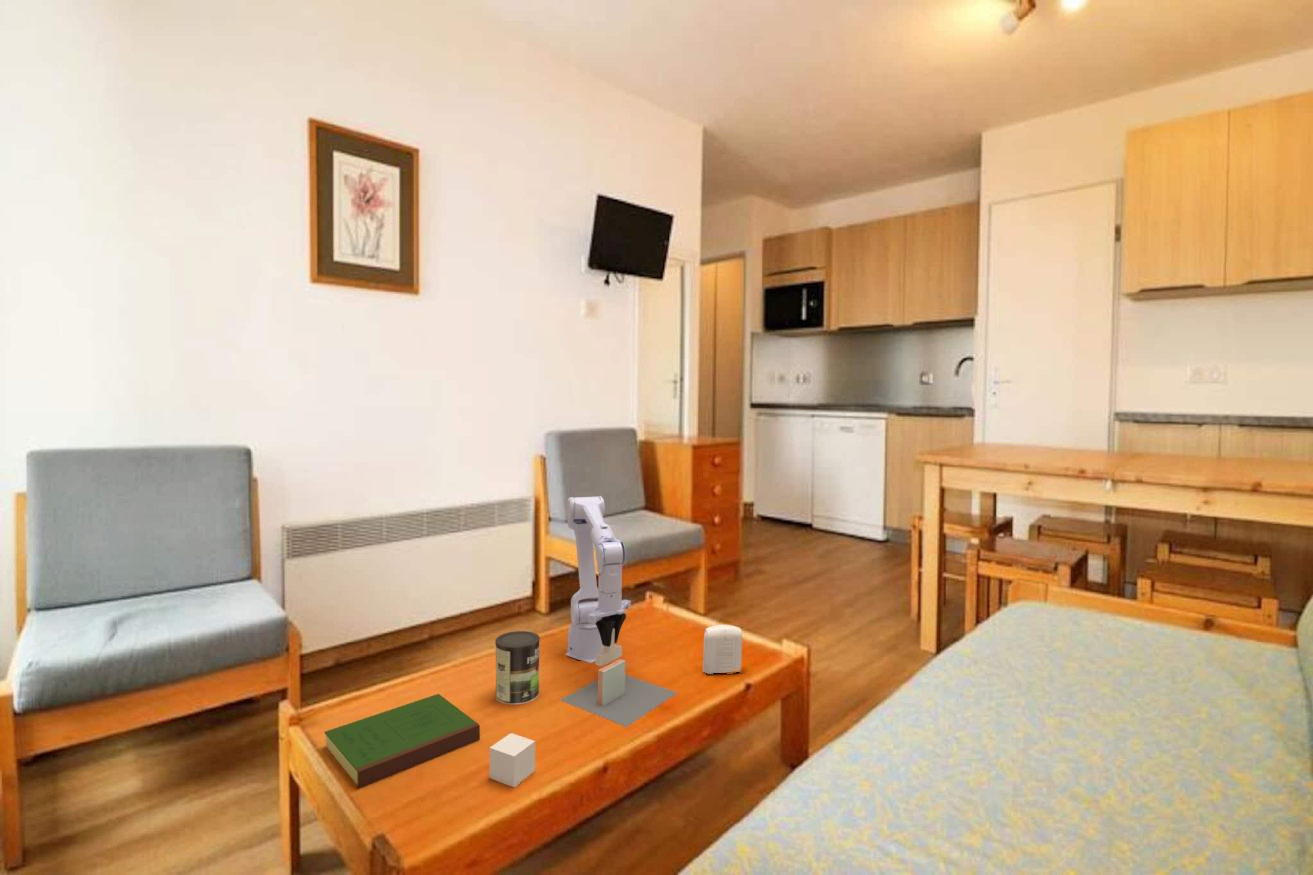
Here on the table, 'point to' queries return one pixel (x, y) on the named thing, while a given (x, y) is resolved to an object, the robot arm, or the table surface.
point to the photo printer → (722, 649)
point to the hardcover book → (400, 738)
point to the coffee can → (517, 667)
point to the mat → (621, 700)
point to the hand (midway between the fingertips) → (609, 643)
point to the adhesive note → (512, 759)
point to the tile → (611, 682)
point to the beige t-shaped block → (608, 652)
